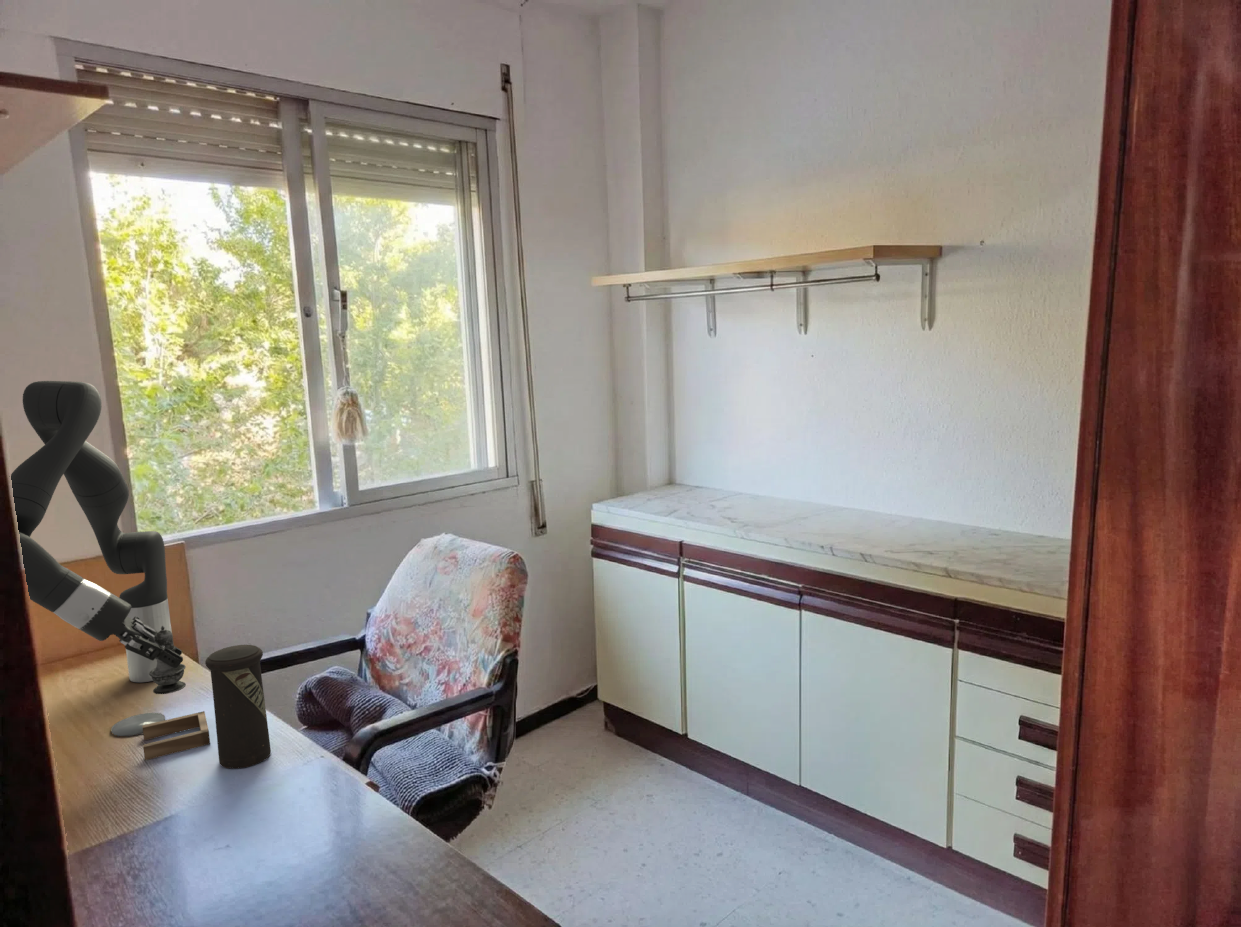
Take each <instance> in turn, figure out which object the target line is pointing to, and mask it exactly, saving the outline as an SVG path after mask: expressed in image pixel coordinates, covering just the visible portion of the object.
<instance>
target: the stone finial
mask: <svg viewBox="0 0 1241 927" xmlns="http://www.w3.org/2000/svg"><path fill="white" fill-rule="evenodd" d="M164 628H165V627H164V626H162V627H161V630H160V631H159V632H158V633H156V635H155V637H156V641H158V642H159V643H161V644H162V645H165V647H166V648H168V649H170V650H172V651H173V652H175V650H176V647H177V646H176V645H175V644H174V643H175V642H174V638H173V637H174V636H173V632H171V631H172V630H171V631H169V630H164ZM186 668H187V667H186V665H185V664H184V663H180V665H179V666H178V667H177V668H173V667H171V666H169V665H168V664H166V663H164V662H162V661H161V660H159V659H157V666H156V668H154V669H153V670H151V671H150V672H149V675H150V676H151V677H152V680H153V681H152V682H153V683H155V684H156V687H155V688H153V689H152V690H153V691H152V692H153V693H154V694H155V695H167V694H172V693H176V692H179V691H181V690H182V689H184V688H185V687H186V682H184V681H181V679H182V678H183V676H184V674H185V669H186Z"/></svg>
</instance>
